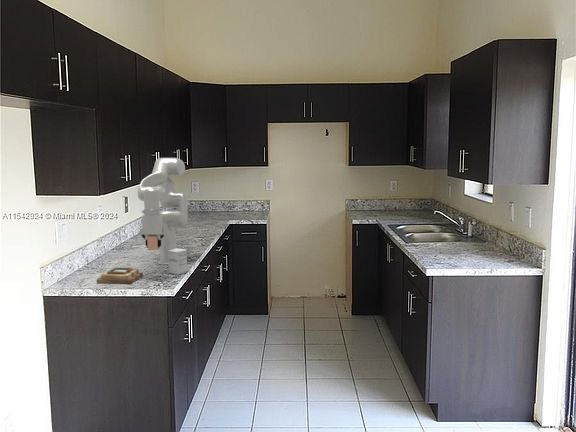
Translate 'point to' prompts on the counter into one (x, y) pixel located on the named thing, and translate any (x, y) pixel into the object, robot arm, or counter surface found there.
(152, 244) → the pillar block
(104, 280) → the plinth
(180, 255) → the supplement box
